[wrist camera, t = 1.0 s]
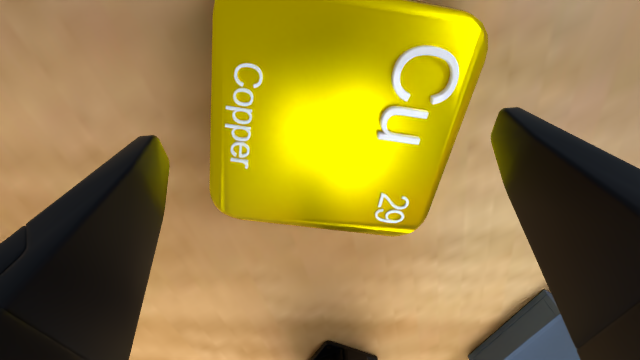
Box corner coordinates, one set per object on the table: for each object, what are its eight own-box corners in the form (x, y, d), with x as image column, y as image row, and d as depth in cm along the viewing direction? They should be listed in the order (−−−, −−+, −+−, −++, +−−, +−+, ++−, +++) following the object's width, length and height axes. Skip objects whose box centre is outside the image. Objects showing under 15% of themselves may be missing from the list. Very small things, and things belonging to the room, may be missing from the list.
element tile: (228, -34, 21) (209, -37, 17) (470, 11, 23) (508, 19, 18) (220, 186, 28) (206, 222, 24) (405, 208, 30) (421, 246, 26)
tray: (569, 392, 44) (585, 416, 42) (467, 355, 40) (478, 380, 37) (649, 337, 39) (672, 361, 37) (543, 289, 35) (561, 312, 33)
